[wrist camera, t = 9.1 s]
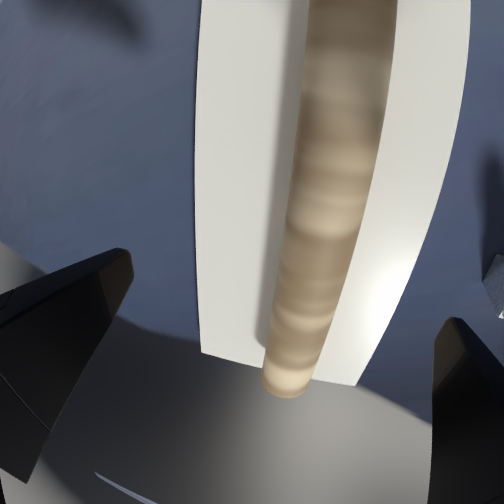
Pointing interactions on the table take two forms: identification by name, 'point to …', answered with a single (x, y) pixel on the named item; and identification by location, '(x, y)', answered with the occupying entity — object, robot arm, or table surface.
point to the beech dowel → (328, 178)
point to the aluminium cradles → (496, 284)
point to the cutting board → (280, 165)
